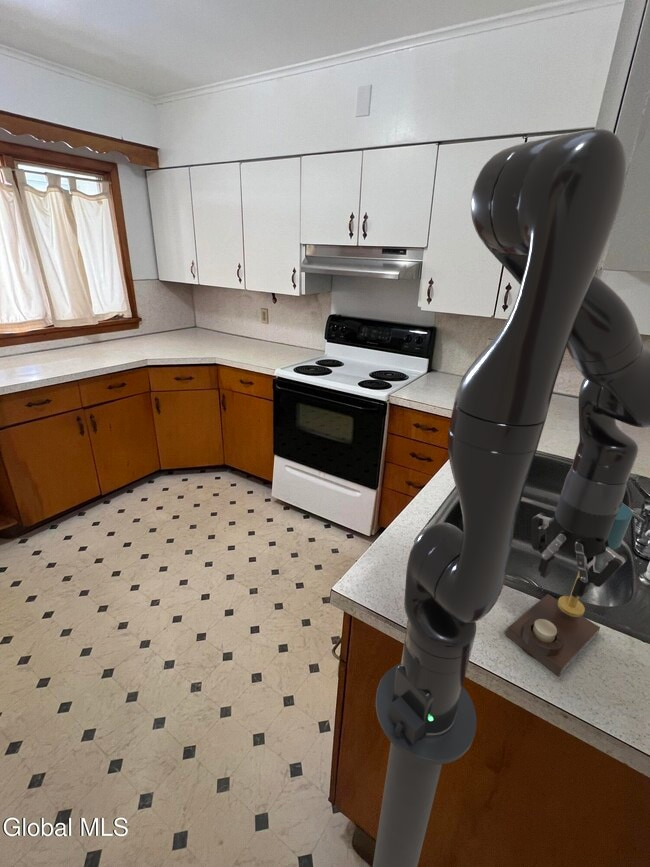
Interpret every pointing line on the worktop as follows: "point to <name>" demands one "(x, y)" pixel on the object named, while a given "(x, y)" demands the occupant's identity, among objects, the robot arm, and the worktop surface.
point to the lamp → (615, 538)
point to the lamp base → (567, 641)
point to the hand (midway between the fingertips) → (560, 584)
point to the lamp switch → (544, 630)
